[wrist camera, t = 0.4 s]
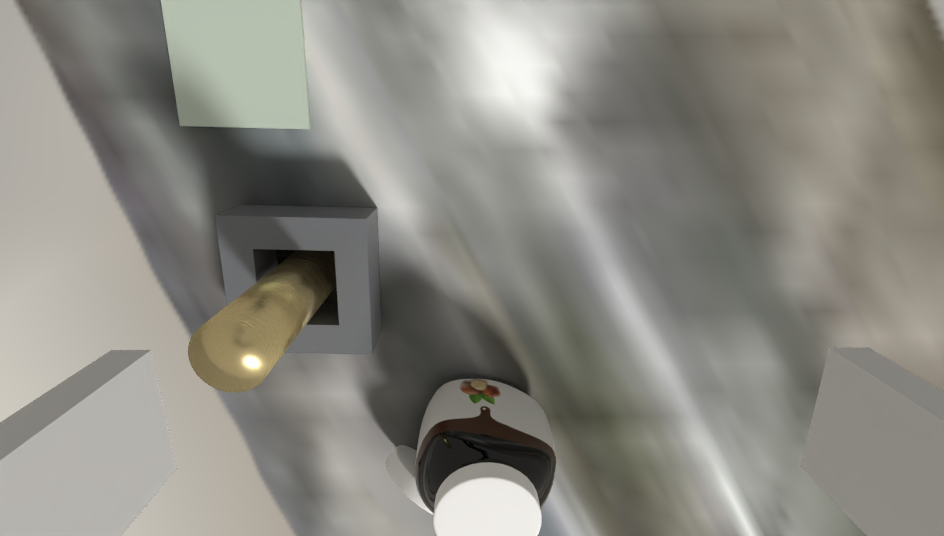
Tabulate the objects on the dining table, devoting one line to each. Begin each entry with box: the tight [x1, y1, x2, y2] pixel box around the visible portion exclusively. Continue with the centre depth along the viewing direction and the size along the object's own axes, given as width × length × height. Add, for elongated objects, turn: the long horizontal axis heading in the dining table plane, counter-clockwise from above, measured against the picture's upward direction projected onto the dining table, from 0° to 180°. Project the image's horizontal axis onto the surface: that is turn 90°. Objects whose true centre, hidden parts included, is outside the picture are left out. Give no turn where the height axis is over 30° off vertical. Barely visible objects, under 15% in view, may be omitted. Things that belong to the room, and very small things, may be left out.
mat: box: [161, 0, 311, 129], centre depth 33 cm, size 9×9×1 cm
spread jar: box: [386, 376, 556, 536], centre depth 36 cm, size 12×11×12 cm
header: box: [215, 205, 382, 354], centre depth 36 cm, size 10×10×4 cm
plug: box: [188, 250, 337, 392], centre depth 31 cm, size 4×4×14 cm
